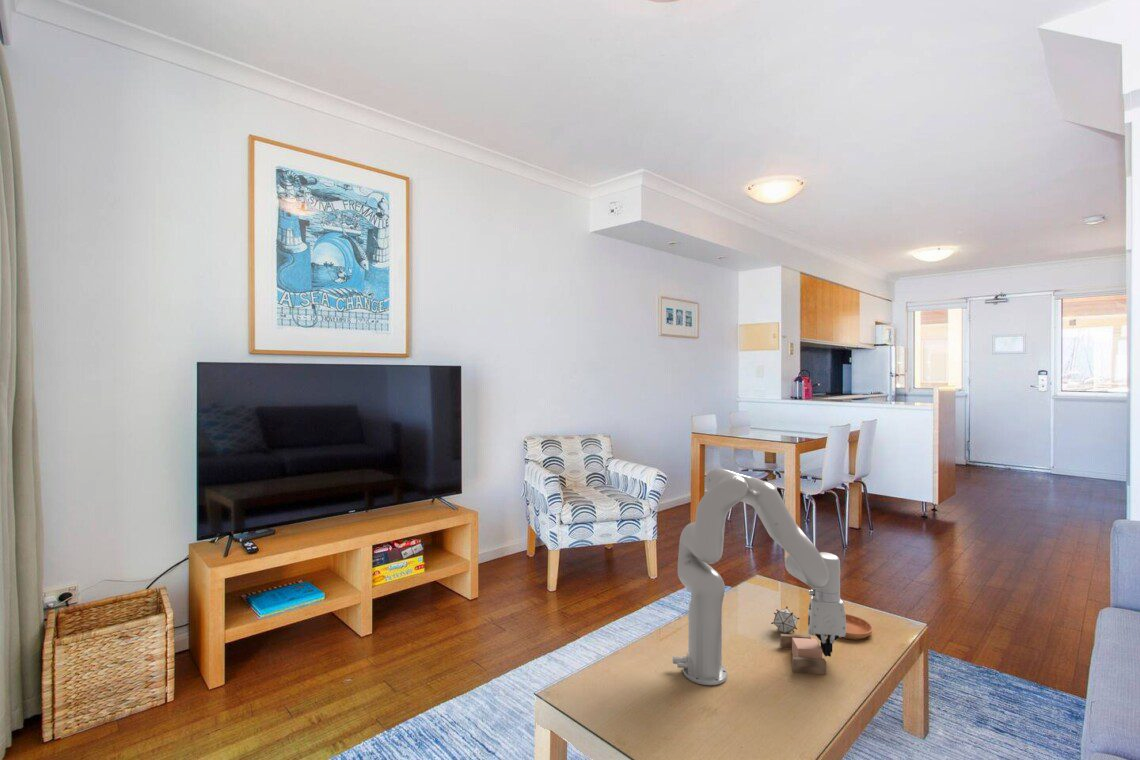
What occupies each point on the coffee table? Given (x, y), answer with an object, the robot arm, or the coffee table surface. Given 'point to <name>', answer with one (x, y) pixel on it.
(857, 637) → the saucer
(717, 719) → the coffee table surface
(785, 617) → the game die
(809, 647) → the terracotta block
